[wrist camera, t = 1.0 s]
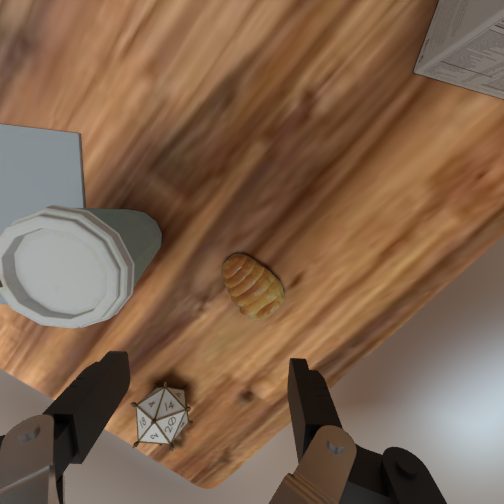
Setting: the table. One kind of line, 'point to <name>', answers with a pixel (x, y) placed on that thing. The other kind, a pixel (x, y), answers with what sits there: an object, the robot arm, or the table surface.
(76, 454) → the robot arm
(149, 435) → the game die
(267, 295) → the pastry
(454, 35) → the supplement box
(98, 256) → the disposable coffee cup
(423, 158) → the table surface
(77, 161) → the mat
